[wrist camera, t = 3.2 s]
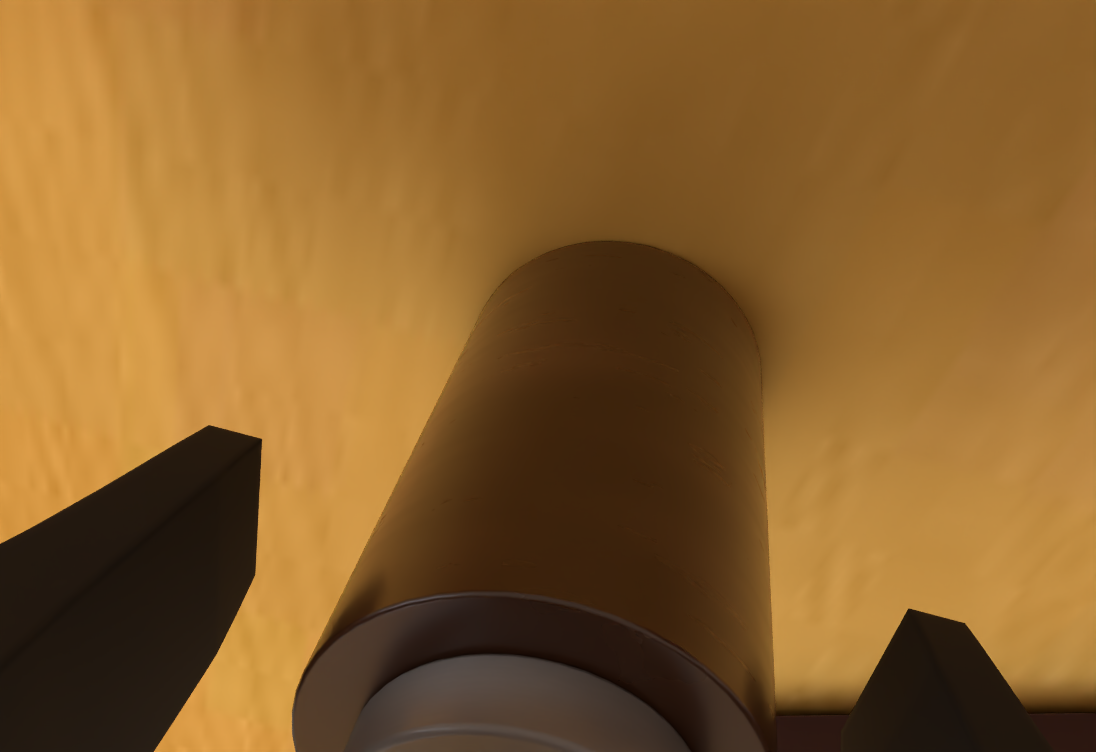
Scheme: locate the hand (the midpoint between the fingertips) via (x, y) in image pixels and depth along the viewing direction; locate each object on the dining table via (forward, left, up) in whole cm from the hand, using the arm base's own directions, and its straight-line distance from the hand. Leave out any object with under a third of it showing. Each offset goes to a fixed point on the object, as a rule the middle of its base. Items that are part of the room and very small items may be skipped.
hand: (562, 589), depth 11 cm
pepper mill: (0, 0, -5) cm, 5 cm away
